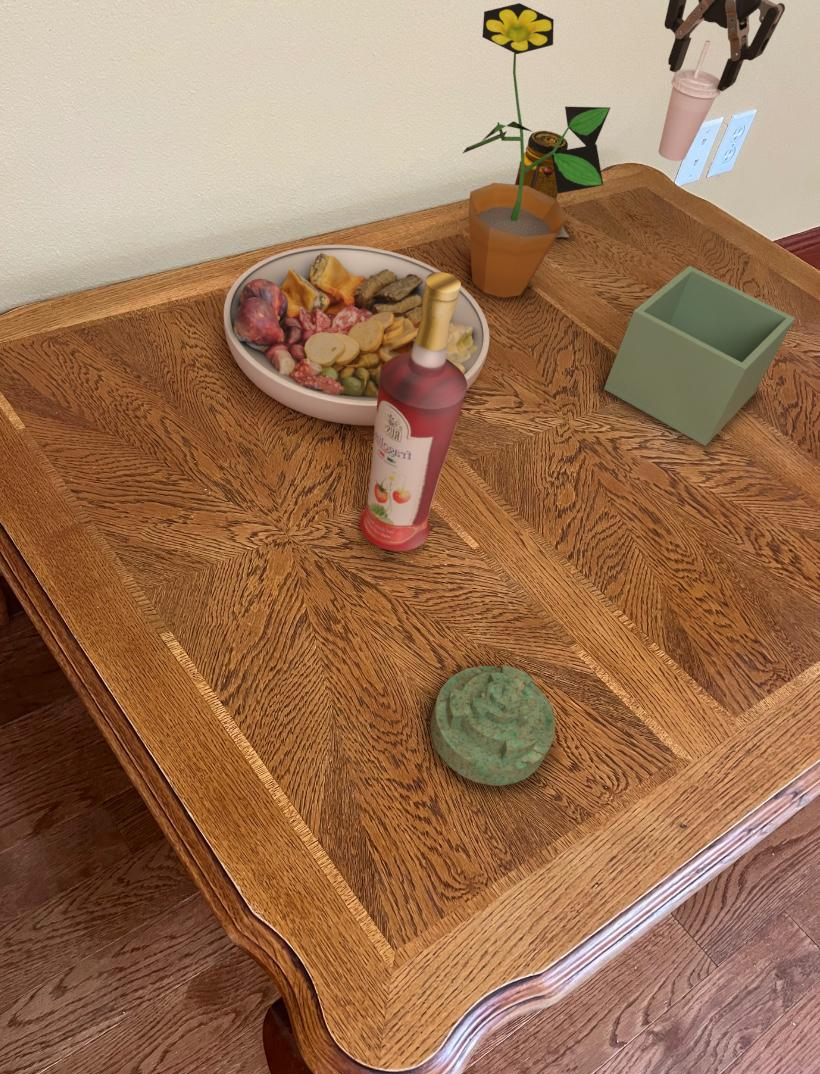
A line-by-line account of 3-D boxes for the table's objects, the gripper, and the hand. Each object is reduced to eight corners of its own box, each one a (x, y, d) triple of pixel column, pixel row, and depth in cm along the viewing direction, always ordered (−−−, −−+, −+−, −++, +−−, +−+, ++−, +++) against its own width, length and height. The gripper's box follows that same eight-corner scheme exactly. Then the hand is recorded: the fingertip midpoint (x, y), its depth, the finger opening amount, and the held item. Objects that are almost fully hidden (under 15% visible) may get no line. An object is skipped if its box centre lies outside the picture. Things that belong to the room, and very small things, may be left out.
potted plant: (400, 271, 122) (441, 15, 98) (497, 230, 131) (554, -13, 107) (501, 341, 114) (570, 84, 91) (595, 293, 124) (680, 48, 100)
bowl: (428, 271, 122) (438, 214, 116) (521, 422, 105) (539, 365, 99) (199, 290, 114) (197, 230, 108) (260, 458, 97) (262, 398, 91)
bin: (656, 342, 118) (689, 265, 110) (754, 394, 114) (795, 317, 105) (603, 389, 111) (633, 310, 102) (705, 446, 106) (745, 369, 98)
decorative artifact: (457, 799, 75) (567, 768, 78) (475, 756, 70) (592, 724, 72) (412, 697, 81) (516, 672, 84) (426, 649, 75) (536, 624, 78)
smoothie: (665, 138, 131) (703, 28, 120) (703, 157, 128) (746, 47, 118) (639, 150, 128) (676, 38, 117) (678, 170, 125) (719, 57, 114)
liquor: (444, 538, 93) (510, 289, 71) (393, 573, 89) (445, 323, 67) (392, 496, 96) (441, 244, 74) (340, 529, 92) (374, 274, 70)
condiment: (498, 210, 134) (518, 125, 125) (554, 211, 136) (578, 127, 127) (511, 238, 130) (532, 152, 121) (568, 239, 131) (594, 154, 122)
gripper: (823, -61, 107) (760, 92, 120) (711, -98, 112) (662, 52, 125) (798, -49, 103) (736, 108, 116) (682, -88, 108) (635, 67, 121)
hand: (698, 79), depth 121 cm, fingers closed on smoothie, 6 cm apart
